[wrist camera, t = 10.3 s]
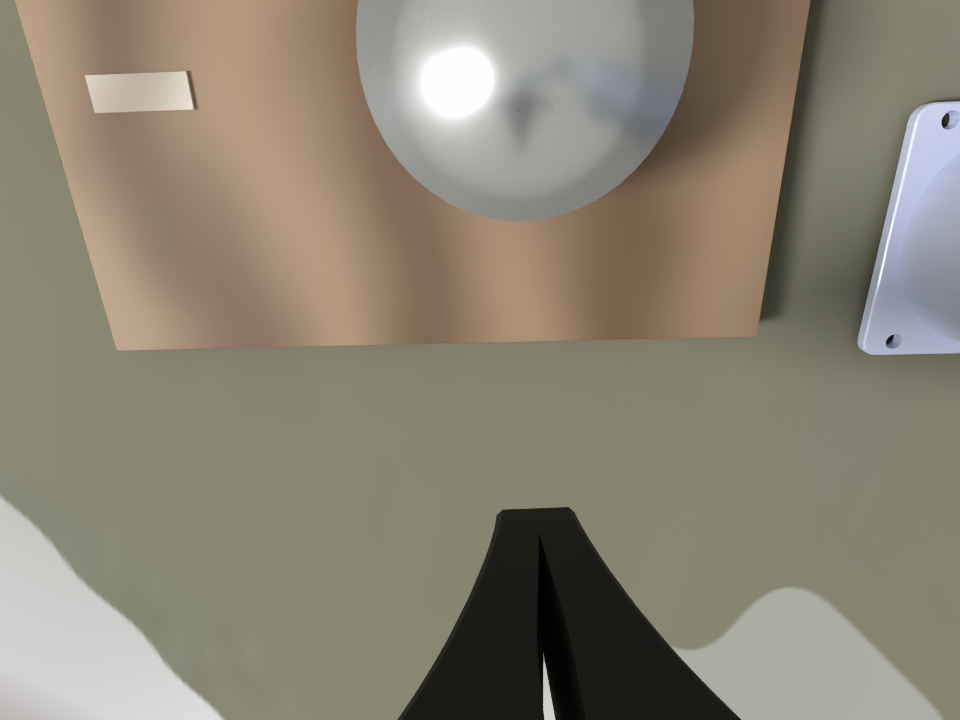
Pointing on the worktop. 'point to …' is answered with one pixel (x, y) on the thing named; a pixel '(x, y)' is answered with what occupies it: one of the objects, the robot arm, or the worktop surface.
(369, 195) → the post board
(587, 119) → the grey lever with knob
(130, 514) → the worktop surface
